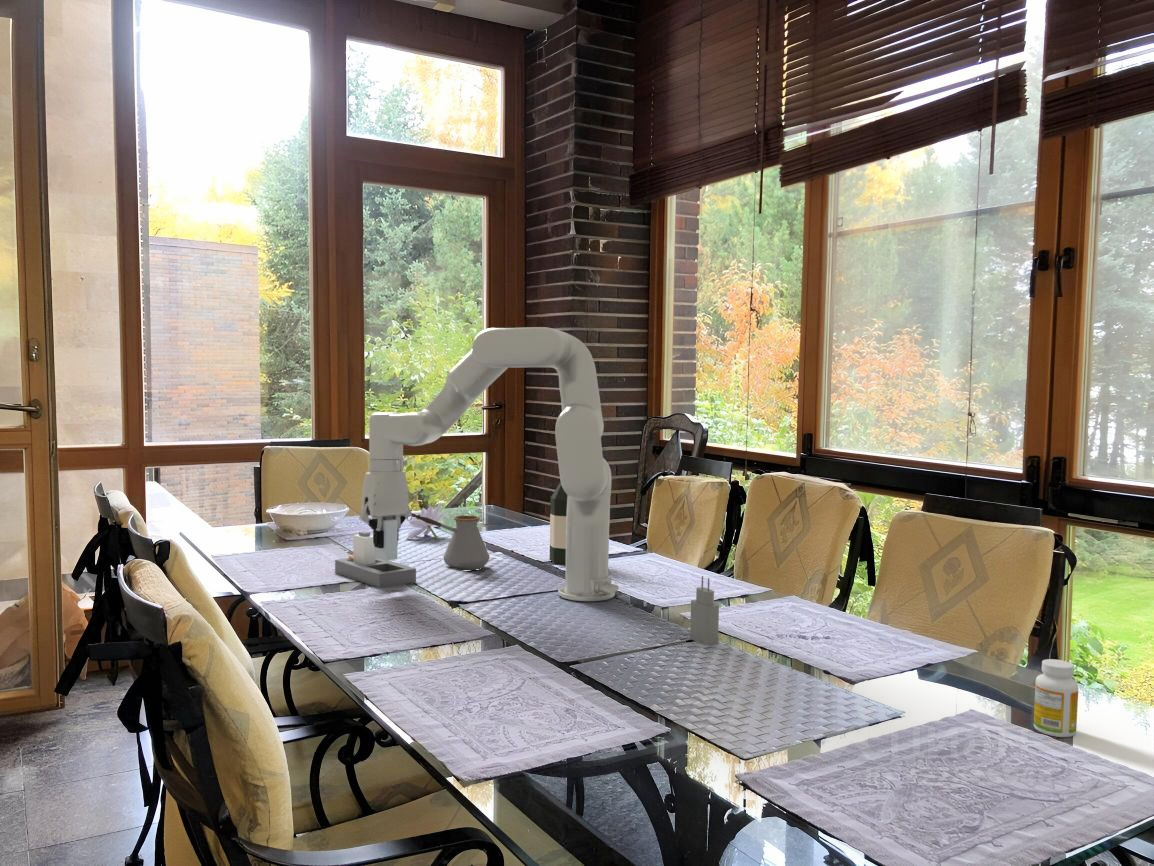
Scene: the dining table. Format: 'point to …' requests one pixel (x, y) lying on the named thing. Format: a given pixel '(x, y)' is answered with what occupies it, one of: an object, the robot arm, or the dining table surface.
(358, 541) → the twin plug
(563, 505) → the wine bottle
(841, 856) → the dining table surface
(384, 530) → the plug
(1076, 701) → the supplement bottle
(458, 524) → the coffee pot
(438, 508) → the water lily
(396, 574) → the grey socket block
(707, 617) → the power adapter
